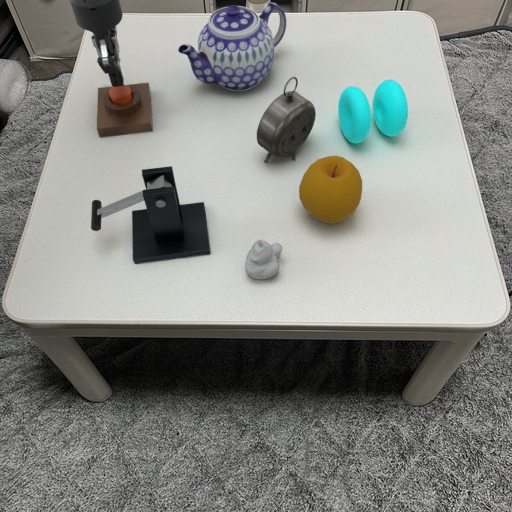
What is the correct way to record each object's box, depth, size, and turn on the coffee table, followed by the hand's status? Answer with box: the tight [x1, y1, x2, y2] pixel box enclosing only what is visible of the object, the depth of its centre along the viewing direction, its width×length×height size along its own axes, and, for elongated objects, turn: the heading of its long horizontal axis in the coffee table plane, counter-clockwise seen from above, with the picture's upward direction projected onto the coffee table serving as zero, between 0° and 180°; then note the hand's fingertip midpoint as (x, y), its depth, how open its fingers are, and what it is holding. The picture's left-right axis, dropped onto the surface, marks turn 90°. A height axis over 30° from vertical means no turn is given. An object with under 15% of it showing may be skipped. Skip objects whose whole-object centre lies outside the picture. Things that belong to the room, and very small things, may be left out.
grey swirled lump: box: [245, 239, 283, 280], centre depth 77 cm, size 5×7×8 cm
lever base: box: [131, 165, 211, 265], centre depth 79 cm, size 12×10×13 cm
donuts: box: [337, 79, 409, 144], centre depth 93 cm, size 10×10×10 cm
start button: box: [109, 84, 132, 105], centre depth 97 cm, size 4×4×2 cm
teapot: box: [177, 2, 287, 92], centre depth 101 cm, size 25×15×15 cm, turn 125°
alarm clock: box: [256, 76, 317, 164], centre depth 87 cm, size 11×5×16 cm, turn 135°
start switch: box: [96, 82, 154, 138], centre depth 99 cm, size 10×12×4 cm
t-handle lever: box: [90, 175, 172, 232], centre depth 76 cm, size 13×5×2 cm, turn 99°
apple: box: [298, 155, 363, 224], centre depth 81 cm, size 10×10×12 cm
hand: (118, 84), depth 95 cm, fingers closed
